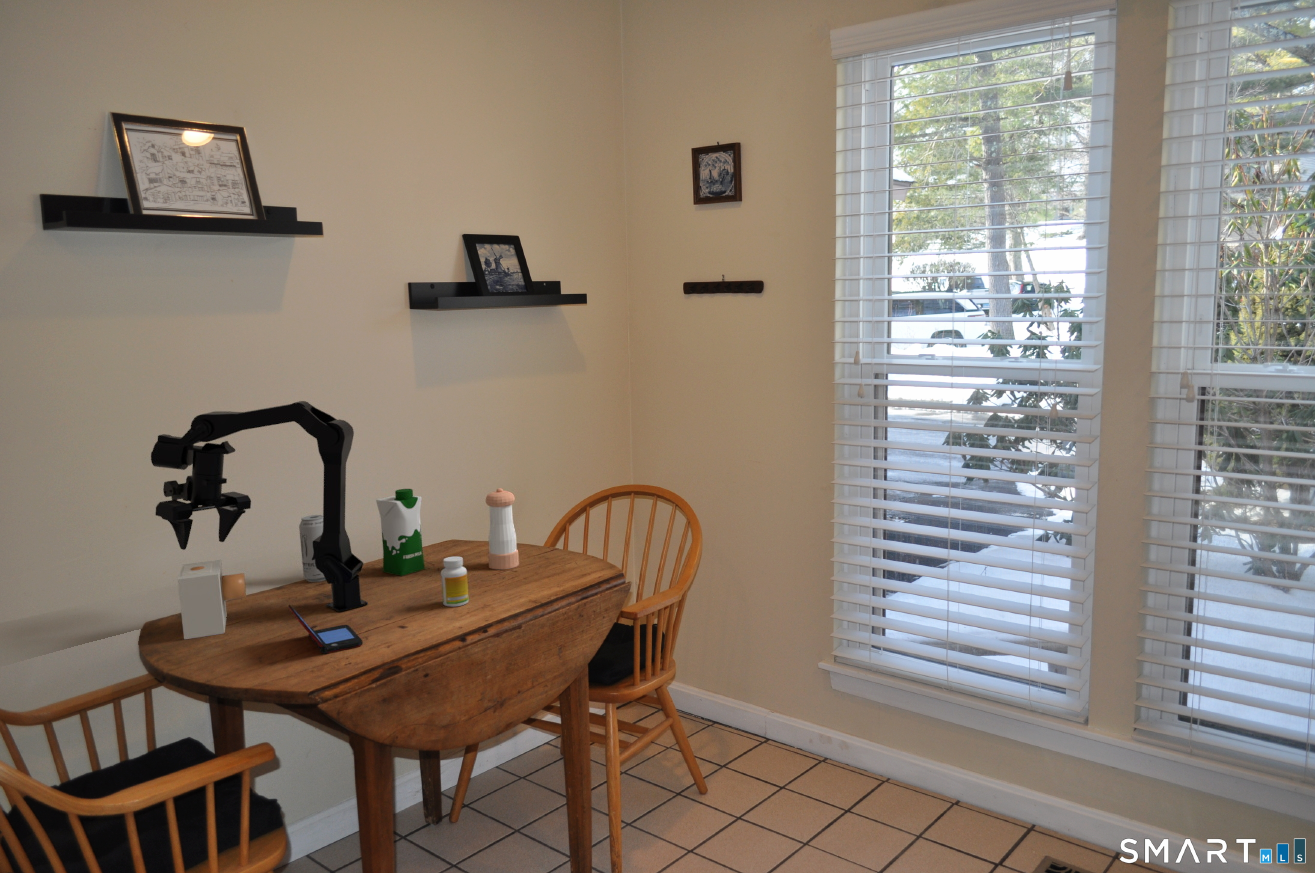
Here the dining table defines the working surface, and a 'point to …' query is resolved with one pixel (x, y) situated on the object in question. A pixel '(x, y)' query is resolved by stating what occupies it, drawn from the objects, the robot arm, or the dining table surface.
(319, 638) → the handheld game console
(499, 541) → the pepper shaker
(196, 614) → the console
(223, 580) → the button
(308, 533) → the energy drink can
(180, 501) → the robot arm
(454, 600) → the supplement bottle
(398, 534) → the milk carton
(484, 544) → the dining table surface
